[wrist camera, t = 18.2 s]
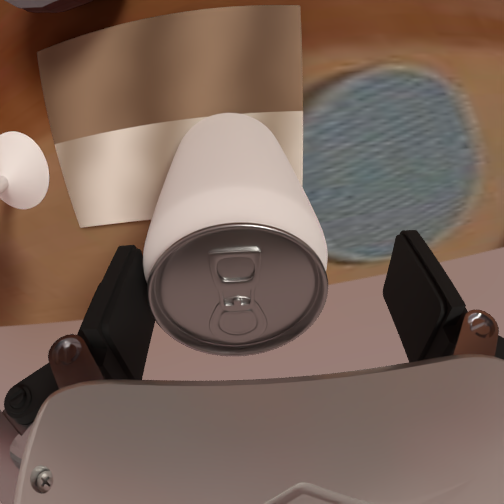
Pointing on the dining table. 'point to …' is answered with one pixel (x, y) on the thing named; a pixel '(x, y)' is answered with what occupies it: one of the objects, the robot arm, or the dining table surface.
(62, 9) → the mate gourd
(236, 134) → the can
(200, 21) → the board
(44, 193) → the champagne flute
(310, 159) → the dining table surface
